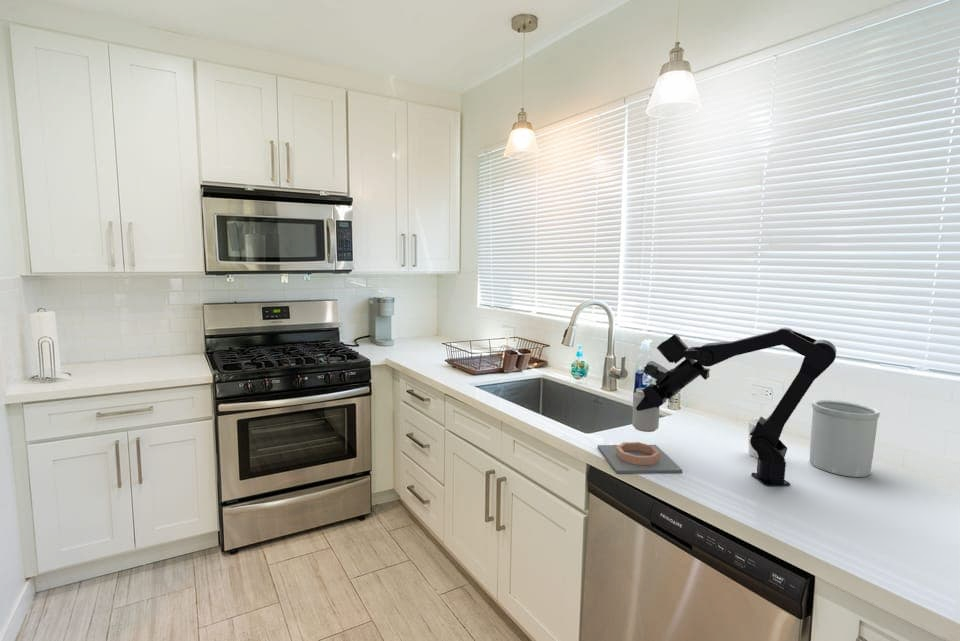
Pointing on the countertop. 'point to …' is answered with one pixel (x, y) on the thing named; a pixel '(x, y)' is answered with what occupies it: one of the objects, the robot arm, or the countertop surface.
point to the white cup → (751, 424)
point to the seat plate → (638, 458)
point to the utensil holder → (843, 437)
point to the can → (644, 414)
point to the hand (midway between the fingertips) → (641, 406)
